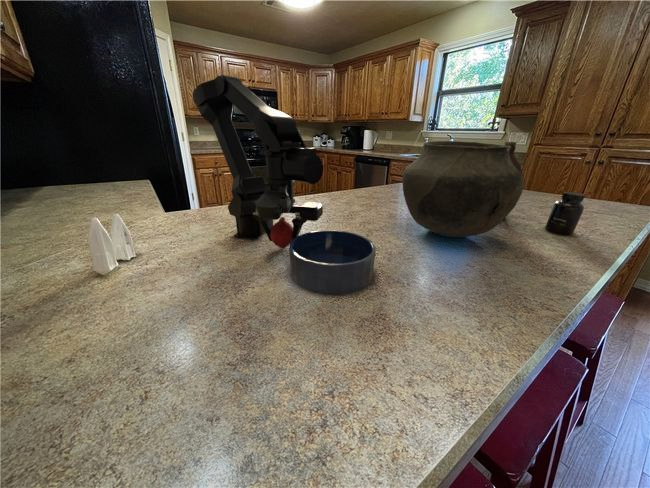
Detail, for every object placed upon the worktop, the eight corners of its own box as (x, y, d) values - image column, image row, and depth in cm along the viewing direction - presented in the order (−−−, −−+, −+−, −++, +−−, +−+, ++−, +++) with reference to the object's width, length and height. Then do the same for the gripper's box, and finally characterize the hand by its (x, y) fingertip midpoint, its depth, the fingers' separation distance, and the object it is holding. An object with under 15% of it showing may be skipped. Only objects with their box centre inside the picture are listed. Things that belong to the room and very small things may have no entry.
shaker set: (112, 279, 51) (93, 225, 47) (87, 280, 51) (66, 225, 46) (141, 252, 62) (128, 206, 58) (121, 253, 61) (107, 206, 57)
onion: (290, 254, 63) (289, 222, 60) (267, 251, 64) (265, 220, 61) (297, 244, 68) (297, 214, 65) (276, 242, 69) (274, 213, 66)
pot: (489, 267, 59) (525, 148, 49) (376, 228, 81) (386, 140, 71) (527, 237, 77) (559, 145, 67) (426, 212, 99) (439, 139, 89)
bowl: (277, 286, 50) (275, 258, 48) (304, 249, 66) (304, 226, 63) (369, 301, 47) (372, 270, 44) (375, 258, 62) (377, 234, 60)
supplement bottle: (548, 233, 80) (563, 194, 75) (541, 226, 86) (555, 189, 81) (577, 237, 78) (594, 197, 73) (567, 230, 84) (583, 192, 79)
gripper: (221, 181, 54) (230, 251, 60) (310, 187, 50) (309, 261, 56) (248, 173, 64) (253, 233, 70) (324, 178, 60) (322, 241, 66)
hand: (282, 242), depth 66 cm, fingers closed on onion, 6 cm apart
